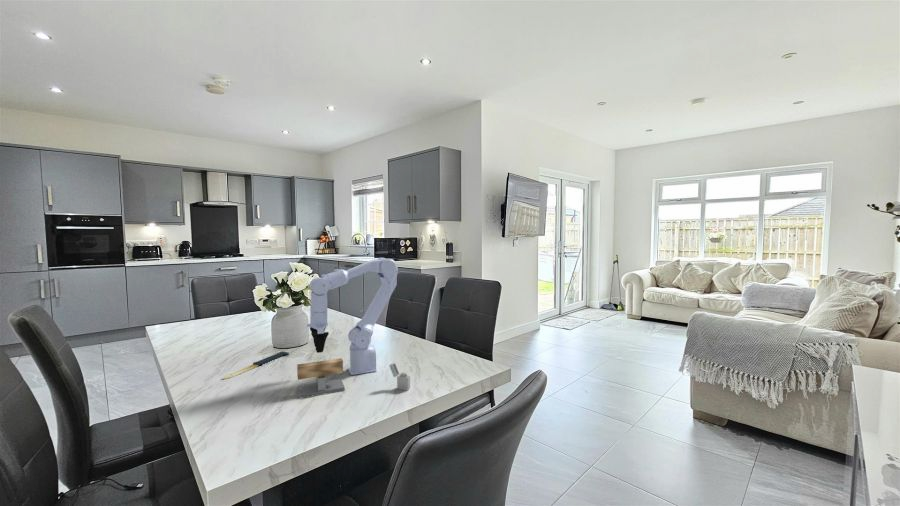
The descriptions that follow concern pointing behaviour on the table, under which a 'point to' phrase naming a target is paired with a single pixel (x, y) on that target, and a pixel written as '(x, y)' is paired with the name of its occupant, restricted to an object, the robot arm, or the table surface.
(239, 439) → the table surface
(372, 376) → the table surface
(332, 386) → the stand
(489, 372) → the table surface
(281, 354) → the knife
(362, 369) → the robot arm
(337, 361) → the bar
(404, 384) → the lighter
